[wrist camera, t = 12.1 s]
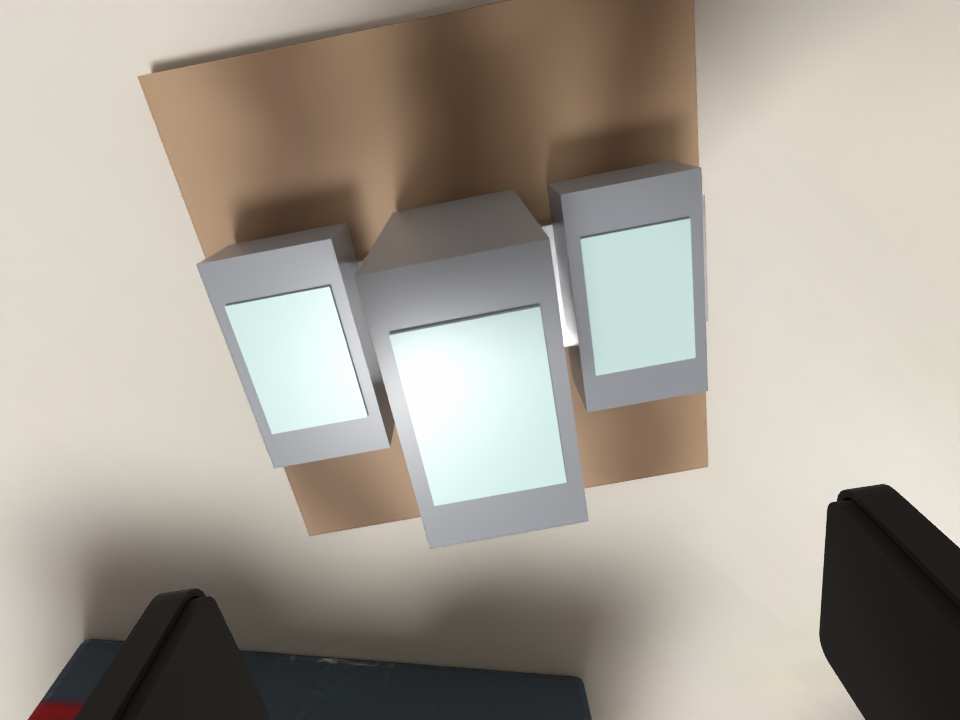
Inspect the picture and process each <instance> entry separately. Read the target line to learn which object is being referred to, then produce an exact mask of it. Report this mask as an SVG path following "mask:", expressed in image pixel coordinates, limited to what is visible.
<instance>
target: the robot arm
mask: <svg viewBox="0 0 960 720" xmlns="http://www.w3.org/2000/svg"><path fill="white" fill-rule="evenodd" d="M819 636H820V642H821V646H822V649H823V652H824V654H825V656H826V658H827V660H828V662H829V664H830V665H831V667H832V668H833V670H834V671H835V673H836V675H837V676H838V678H839V679H840V681H841V682H842V684H843V685H844V687H845V689H846V690H847V692H848V693H849V695H850V696H851V698H852V699H853V701H854V703H855V704H856V706H857V707H858V709H859V710H860V712H861V713H862V715H863V717H864V718H865V720H960V548H959V547H958V546H957V545H956V544H955V543H953V542H952V541H951V540H950V539H949V538H948V537H947V536H946V535H945V534H943V533H942V532H941V531H940V530H939V529H938V528H937V527H936V526H935V525H933V524H932V523H931V522H930V521H929V520H928V519H927V518H926V517H925V516H923V515H922V514H921V513H920V512H919V511H918V510H917V509H916V508H915V507H913V506H912V505H911V504H910V503H909V502H908V501H907V500H906V499H905V498H903V497H902V496H901V495H900V494H899V493H898V492H897V491H896V490H895V489H893V488H892V487H890V486H889V485H885V484H880V485H873V486H867V487H860V488H853V489H847V490H843V491H841V492H840V493H839V495H838V498H837V502H832V503H830V504H829V506H828V509H827V522H826V537H825V553H824V568H823V584H822V599H821V615H820V631H819ZM74 720H269V714H268V710H267V708H266V706H265V704H264V702H263V699H262V697H261V695H260V693H259V691H258V689H257V687H256V685H255V683H254V681H253V678H252V676H251V674H250V672H249V670H248V668H247V666H246V664H245V662H244V660H243V658H242V655H241V653H240V651H239V649H238V647H237V645H236V643H235V641H234V639H233V637H232V634H231V632H230V630H229V628H228V626H227V624H226V622H225V620H224V618H223V616H222V613H221V611H220V609H219V607H218V605H217V603H216V601H215V600H214V598H212V597H206V596H205V594H204V593H203V591H201V590H200V589H188V590H182V591H175V592H169V593H162V594H159V595H158V596H156V597H155V598H154V599H153V600H152V601H151V602H150V604H149V606H148V607H147V609H146V610H145V612H144V613H143V615H142V616H141V618H140V619H139V621H138V622H137V624H136V625H135V627H134V628H133V630H132V631H131V633H130V635H129V636H128V638H127V639H126V641H125V642H124V644H123V645H122V647H121V648H120V650H119V651H118V653H117V654H116V656H115V657H114V659H113V660H112V662H111V664H110V665H109V667H108V668H107V670H106V671H105V673H104V674H103V676H102V677H101V679H100V680H99V682H98V683H97V685H96V686H95V688H94V689H93V691H92V693H91V694H90V696H89V697H88V699H87V700H86V702H85V703H84V705H83V706H82V708H81V709H80V711H79V712H78V714H77V715H76V717H75V718H74Z"/></svg>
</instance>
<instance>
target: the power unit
mask: <svg viewBox="0 0 960 720" xmlns="http://www.w3.org/2000/svg"><path fill="white" fill-rule="evenodd" d="M123 644H124V642H115V641H102V640H88V641H85V642H83V643H82V644H81V645H80V646H79V648H78V649H77V650H76V652H75V653H74V655H73V656H72V657H71V659H70V660H69V662H68V663H67V665H66V666H65V667H64V669H63V670H62V672H61V673H60V675H59V676H58V677H57V679H56V680H55V682H54V683H53V685H52V686H51V687H50V689H49V690H48V692H47V693H46V695H45V696H44V697H43V699H42V700H41V702H40V703H39V705H38V706H37V707H36V709H35V710H34V712H33V713H32V715H31V716H30V717H29V719H28V720H74V718H75V717H76V715H77V714H78V712H79V711H80V709H81V708H82V706H83V705H84V703H85V702H86V700H87V699H88V697H89V696H90V694H91V693H92V691H93V689H94V688H95V686H96V685H97V683H98V682H99V680H100V679H101V677H102V676H103V674H104V673H105V671H106V670H107V668H108V667H109V665H110V664H111V662H112V660H113V659H114V657H115V656H116V654H117V653H118V651H119V650H120V648H121V647H122V645H123ZM240 653H241V655H242V658H243V660H244V662H245V664H246V666H247V668H248V670H249V672H250V674H251V676H252V678H253V681H254V683H255V685H256V687H257V689H258V691H259V693H260V695H261V697H262V699H263V702H264V704H265V706H266V708H267V710H268V714H269V720H592V719H591V714H590V710H589V705H588V701H587V697H586V692H585V688H584V684H583V682H582V680H581V679H578V678H576V677H563V676H550V675H537V674H525V673H512V672H499V671H486V670H474V669H461V668H448V667H435V666H422V665H410V664H397V663H384V662H371V661H358V660H346V659H333V658H320V657H307V656H294V655H282V654H269V653H256V652H243V651H240Z"/></svg>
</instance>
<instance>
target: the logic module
mask: <svg viewBox="0 0 960 720" xmlns="http://www.w3.org/2000/svg"><path fill="white" fill-rule="evenodd" d="M354 278H355V281H356V285H357V288H358V292H359V296H360V299H361V303H362V306H363V310H364V313H365V317H366V321H367V324H368V328H369V331H370V335H371V339H372V342H373V346H374V349H375V353H376V356H377V360H378V364H379V367H380V371H381V374H382V378H383V382H384V385H385V389H386V392H387V396H388V399H389V403H390V407H391V410H392V414H393V417H394V421H395V425H396V428H397V432H398V435H399V439H400V443H401V446H402V450H403V453H404V457H405V460H406V464H407V468H408V471H409V475H410V478H411V482H412V486H413V489H414V493H415V496H416V500H417V503H418V507H419V511H420V514H421V518H422V521H423V525H424V529H425V532H426V536H427V539H428V543H429V546H430V549H433V548H438V547H444V546H450V545H456V544H461V543H467V542H473V541H478V540H484V539H490V538H496V537H501V536H507V535H513V534H519V533H524V532H530V531H536V530H541V529H547V528H553V527H559V526H564V525H570V524H576V523H581V522H587V521H588V513H587V506H586V499H585V492H584V484H583V477H582V470H581V463H580V456H579V448H578V441H577V434H576V427H575V419H574V412H573V405H572V398H571V390H570V383H569V376H568V369H567V362H566V354H565V347H564V340H563V333H562V325H561V318H560V311H559V304H558V296H557V289H556V282H555V275H554V267H553V260H552V253H551V246H550V239H549V237H548V236H547V235H546V233H545V232H544V230H543V229H542V228H541V226H540V225H539V224H538V222H537V221H536V220H535V218H534V217H533V215H532V214H531V213H530V211H529V210H528V209H527V207H526V206H525V205H524V203H523V202H522V200H521V199H520V198H519V196H518V195H517V194H516V192H515V191H514V190H513V189H510V190H505V191H500V192H495V193H490V194H485V195H480V196H475V197H470V198H465V199H460V200H454V201H449V202H444V203H439V204H434V205H429V206H424V207H419V208H414V209H409V210H404V211H399V212H393V213H392V215H391V217H390V218H389V220H388V221H387V223H386V225H385V226H384V228H383V230H382V231H381V233H380V235H379V236H378V238H377V240H376V241H375V243H374V245H373V246H372V248H371V250H370V251H369V253H368V254H367V256H366V258H365V259H364V261H363V263H362V264H361V266H360V268H359V269H358V271H357V273H356V274H355V276H354Z"/></svg>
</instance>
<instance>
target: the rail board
mask: <svg viewBox="0 0 960 720" xmlns="http://www.w3.org/2000/svg"><path fill="white" fill-rule="evenodd" d="M138 79H139V82H140V84H141V87H142V90H143V92H144V95H145V98H146V100H147V103H148V106H149V108H150V111H151V114H152V116H153V119H154V122H155V124H156V127H157V130H158V132H159V135H160V138H161V140H162V143H163V146H164V148H165V151H166V154H167V156H168V159H169V162H170V164H171V167H172V170H173V172H174V175H175V178H176V181H177V183H178V186H179V189H180V191H181V194H182V197H183V199H184V202H185V205H186V207H187V210H188V213H189V215H190V218H191V221H192V223H193V226H194V229H195V231H196V234H197V237H198V239H199V242H200V245H201V247H202V250H203V253H204V255H205V258H206V259H205V260H203V261H201V262H200V263H198V264H196V265H197V268H198V270H199V273H200V276H201V278H202V281H203V284H204V286H205V289H206V291H207V294H208V297H209V299H210V302H211V304H212V307H213V310H214V312H215V315H216V318H217V320H218V323H219V325H220V328H221V331H222V333H223V336H224V338H225V341H226V344H227V346H228V349H229V352H230V354H231V357H232V359H233V362H234V365H235V367H236V370H237V372H238V375H239V378H240V380H241V383H242V385H243V388H244V391H245V393H246V396H247V399H248V401H249V404H250V406H251V409H252V412H253V414H254V417H255V419H256V422H257V425H258V427H259V430H260V433H261V435H262V438H263V440H264V443H265V446H266V448H267V451H268V453H269V456H270V459H271V461H272V464H273V467H274V468H279V467H284V469H285V472H286V474H287V477H288V480H289V482H290V485H291V488H292V490H293V493H294V496H295V498H296V501H297V504H298V506H299V509H300V512H301V514H302V517H303V520H304V522H305V525H306V528H307V530H308V533H309V536H313V535H319V534H325V533H331V532H336V531H342V530H348V529H354V528H359V527H365V526H371V525H377V524H382V523H388V522H394V521H400V520H405V519H411V518H417V517H421V514H420V511H419V507H418V503H417V500H416V496H415V493H414V489H413V486H412V482H411V478H410V475H409V471H408V468H407V464H406V460H405V457H404V453H403V450H402V446H401V443H400V439H399V435H398V432H397V428H396V425H395V421H394V417H393V414H392V410H391V407H390V403H389V399H388V396H387V392H386V389H385V385H384V382H383V378H382V374H381V371H380V367H379V364H378V360H377V356H376V353H375V349H374V346H373V342H372V339H371V335H370V331H369V328H368V324H367V321H366V317H365V313H364V310H363V306H362V303H361V299H360V296H359V292H358V288H357V285H356V281H355V278H354V276H355V274H356V273H357V271H358V269H359V268H360V266H361V264H362V263H363V261H364V259H365V258H366V256H367V254H368V253H369V251H370V250H371V248H372V246H373V245H374V243H375V241H376V240H377V238H378V236H379V235H380V233H381V231H382V230H383V228H384V226H385V225H386V223H387V221H388V220H389V218H390V217H391V215H392V213H393V212H399V211H404V210H409V209H414V208H419V207H424V206H429V205H434V204H439V203H444V202H449V201H454V200H460V199H465V198H470V197H475V196H480V195H485V194H490V193H495V192H500V191H505V190H510V189H513V190H514V191H515V192H516V194H517V195H518V196H519V198H520V199H521V200H522V202H523V203H524V205H525V206H526V207H527V209H528V210H529V211H530V213H531V214H532V215H533V217H534V218H535V220H536V221H537V222H538V224H539V225H540V226H541V228H542V229H543V230H544V232H545V233H546V235H547V236H548V237H549V239H550V246H551V253H552V260H553V267H554V275H555V282H556V289H557V296H558V304H559V311H560V318H561V325H562V333H563V340H564V347H565V354H566V362H567V369H568V376H569V383H570V390H571V398H572V405H573V412H574V419H575V427H576V434H577V441H578V448H579V456H580V463H581V470H582V477H583V484H584V488H589V487H595V486H601V485H607V484H612V483H618V482H624V481H630V480H635V479H641V478H647V477H653V476H658V475H664V474H670V473H676V472H681V471H687V470H693V469H699V468H704V467H708V448H707V416H706V391H708V379H707V345H706V321H707V320H708V293H707V257H706V220H705V195H702V174H701V167H699V156H698V124H697V91H696V59H695V26H694V0H509V1H504V2H499V3H495V4H490V5H485V6H480V7H475V8H470V9H465V10H460V11H455V12H450V13H446V14H441V15H436V16H431V17H426V18H421V19H416V20H411V21H406V22H402V23H397V24H392V25H387V26H382V27H377V28H372V29H367V30H362V31H357V32H353V33H348V34H343V35H338V36H333V37H328V38H323V39H318V40H313V41H309V42H304V43H299V44H294V45H289V46H284V47H279V48H274V49H269V50H264V51H260V52H255V53H250V54H245V55H240V56H235V57H230V58H225V59H220V60H215V61H211V62H206V63H201V64H196V65H191V66H186V67H181V68H176V69H171V70H167V71H162V72H157V73H152V74H147V75H142V76H138Z"/></svg>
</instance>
